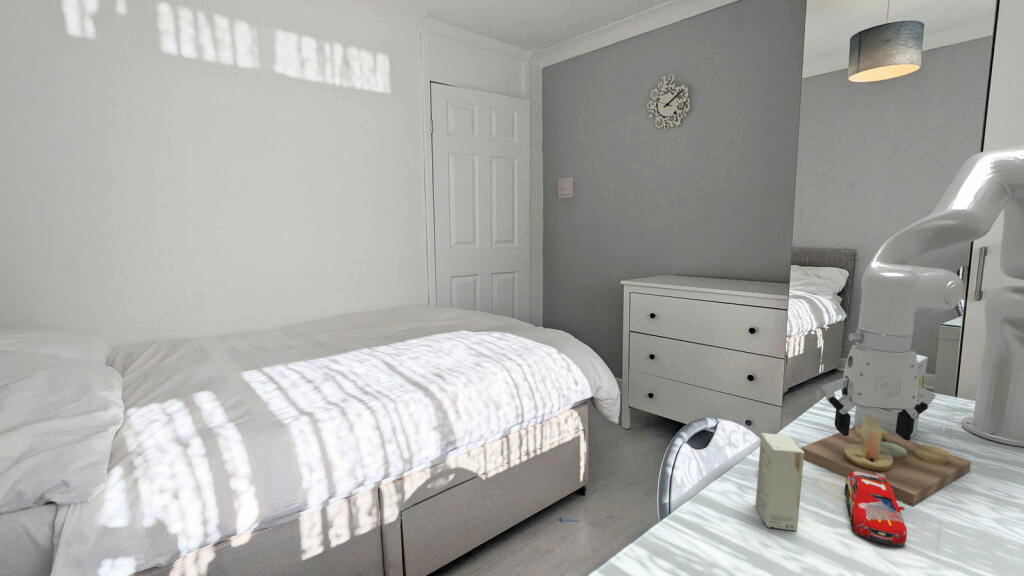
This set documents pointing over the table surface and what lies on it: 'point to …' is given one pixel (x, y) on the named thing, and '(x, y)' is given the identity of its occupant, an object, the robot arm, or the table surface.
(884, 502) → the race car
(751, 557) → the table surface
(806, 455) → the brown flat rectangular board
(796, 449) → the skincare box
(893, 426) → the supplement box
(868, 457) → the wing knob
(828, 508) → the table surface
